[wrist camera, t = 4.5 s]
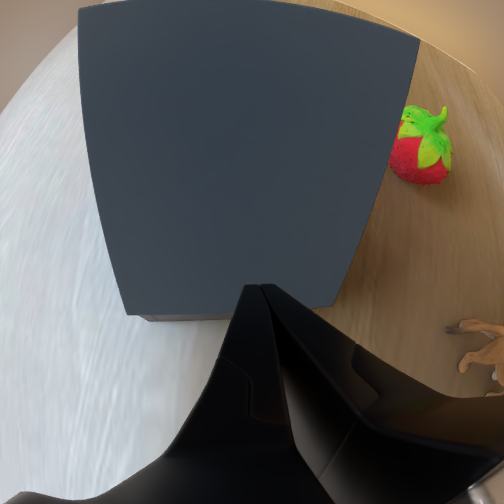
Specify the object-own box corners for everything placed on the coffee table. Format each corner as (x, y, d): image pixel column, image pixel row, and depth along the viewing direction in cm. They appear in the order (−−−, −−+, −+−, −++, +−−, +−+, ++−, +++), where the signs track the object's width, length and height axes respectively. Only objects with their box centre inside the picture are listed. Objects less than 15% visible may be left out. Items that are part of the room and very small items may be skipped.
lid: (86, 8, 6) (77, 8, 6) (408, 36, 8) (421, 39, 7) (128, 303, 15) (126, 315, 15) (328, 295, 17) (332, 307, 16)
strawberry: (379, 206, 27) (446, 145, 17) (359, 139, 29) (407, 70, 19) (425, 207, 28) (491, 156, 18) (403, 145, 30) (455, 86, 20)
